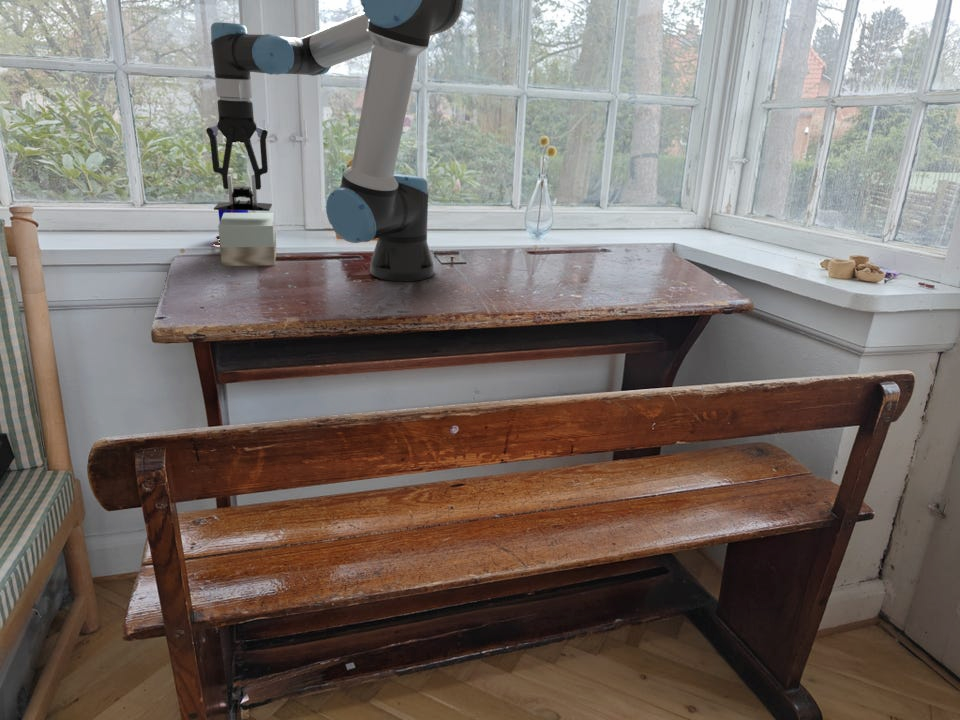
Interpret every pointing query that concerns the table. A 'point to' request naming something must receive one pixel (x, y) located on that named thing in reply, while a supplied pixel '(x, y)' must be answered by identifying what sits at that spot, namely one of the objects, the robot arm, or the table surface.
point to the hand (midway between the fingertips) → (243, 202)
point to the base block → (248, 255)
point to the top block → (247, 230)
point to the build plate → (243, 204)
